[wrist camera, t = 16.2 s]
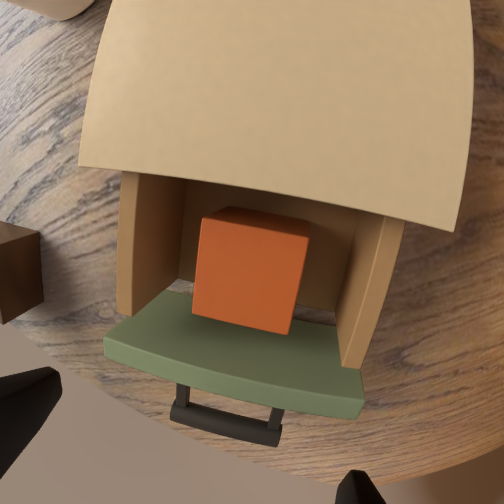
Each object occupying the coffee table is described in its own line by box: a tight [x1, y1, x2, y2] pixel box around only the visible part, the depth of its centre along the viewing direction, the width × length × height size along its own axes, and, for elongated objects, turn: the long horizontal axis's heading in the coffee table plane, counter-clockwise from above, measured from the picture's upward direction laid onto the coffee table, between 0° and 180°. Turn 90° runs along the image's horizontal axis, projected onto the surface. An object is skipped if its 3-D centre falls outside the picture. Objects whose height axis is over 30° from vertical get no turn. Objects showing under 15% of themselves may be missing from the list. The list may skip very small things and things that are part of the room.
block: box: [192, 206, 310, 335], centre depth 14 cm, size 4×4×4 cm
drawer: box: [103, 171, 406, 447], centre depth 13 cm, size 23×11×6 cm, turn 171°
